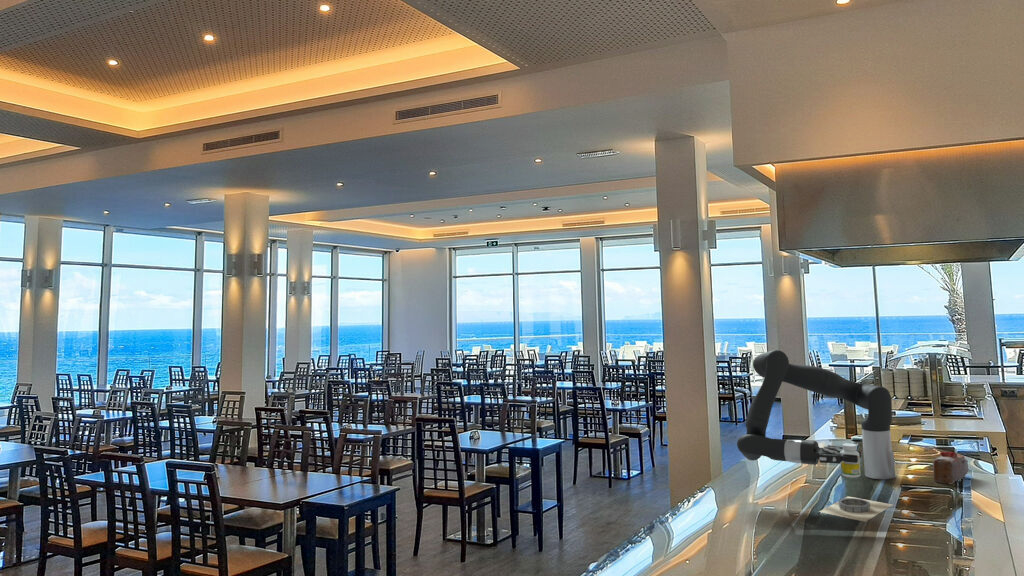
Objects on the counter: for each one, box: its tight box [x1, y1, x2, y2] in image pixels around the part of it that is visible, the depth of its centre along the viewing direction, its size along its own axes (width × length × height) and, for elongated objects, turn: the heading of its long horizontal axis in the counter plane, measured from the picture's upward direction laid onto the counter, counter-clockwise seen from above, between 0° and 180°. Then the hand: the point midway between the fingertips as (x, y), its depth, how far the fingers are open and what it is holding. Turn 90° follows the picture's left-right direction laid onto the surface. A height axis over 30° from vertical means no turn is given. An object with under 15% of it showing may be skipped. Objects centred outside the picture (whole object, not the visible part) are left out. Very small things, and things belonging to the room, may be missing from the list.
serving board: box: [818, 495, 893, 523], centre depth 209 cm, size 20×14×1 cm
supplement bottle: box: [840, 442, 862, 478], centre depth 209 cm, size 5×5×10 cm
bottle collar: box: [837, 497, 870, 513], centre depth 209 cm, size 9×9×2 cm
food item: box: [932, 451, 969, 484], centre depth 235 cm, size 14×8×10 cm, turn 130°
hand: (859, 456), depth 208 cm, fingers closed on supplement bottle, 5 cm apart
